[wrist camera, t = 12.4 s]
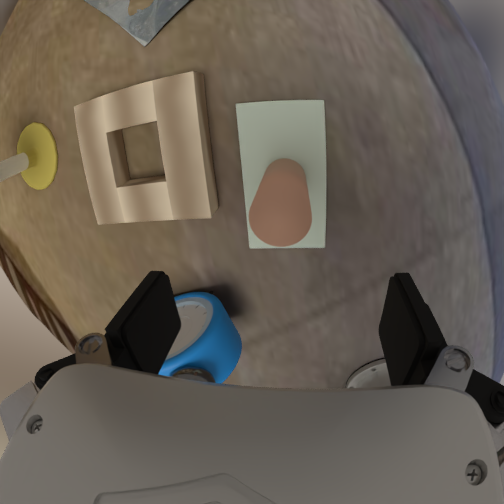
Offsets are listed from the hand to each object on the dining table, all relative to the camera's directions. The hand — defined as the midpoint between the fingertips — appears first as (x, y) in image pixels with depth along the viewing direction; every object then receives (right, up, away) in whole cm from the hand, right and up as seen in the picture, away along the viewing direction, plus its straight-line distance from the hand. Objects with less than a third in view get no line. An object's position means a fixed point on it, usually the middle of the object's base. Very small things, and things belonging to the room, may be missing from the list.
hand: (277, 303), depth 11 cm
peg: (+2, +9, +15) cm, 18 cm away
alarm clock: (-8, -5, +26) cm, 28 cm away
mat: (+2, +9, +16) cm, 18 cm away
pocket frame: (-12, +13, +16) cm, 24 cm away
